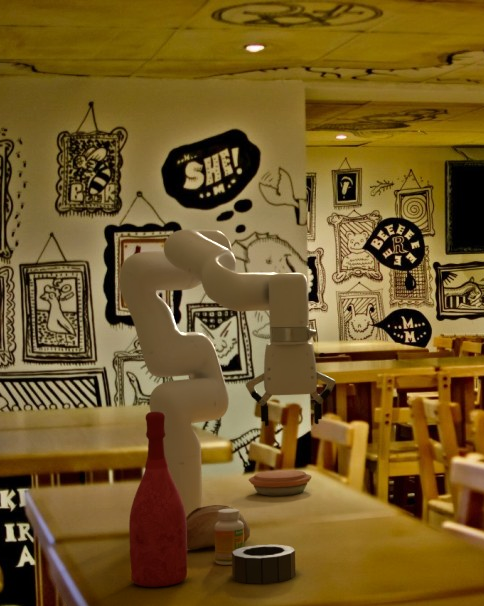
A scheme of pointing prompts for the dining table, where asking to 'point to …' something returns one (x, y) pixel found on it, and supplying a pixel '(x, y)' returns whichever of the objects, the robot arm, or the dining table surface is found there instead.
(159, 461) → the wine bottle
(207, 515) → the bread roll
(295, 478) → the pie
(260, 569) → the tape roll
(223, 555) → the supplement bottle
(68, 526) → the dining table surface
